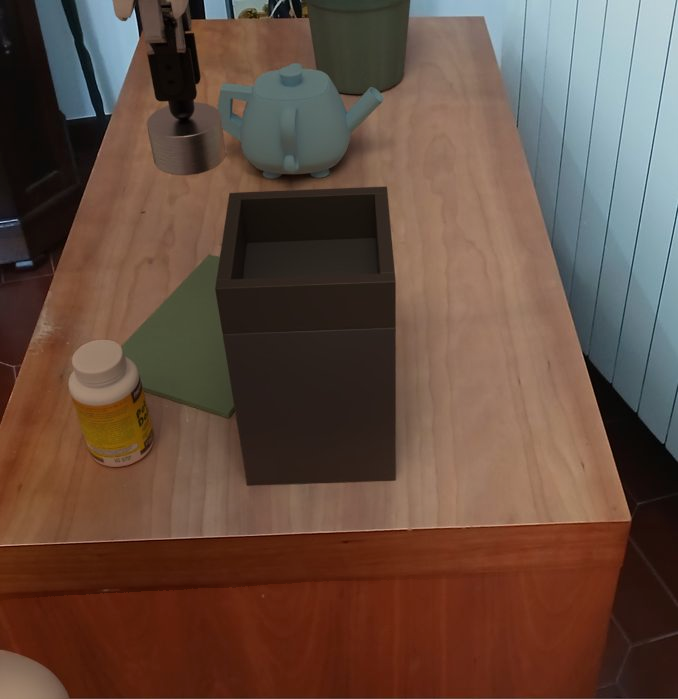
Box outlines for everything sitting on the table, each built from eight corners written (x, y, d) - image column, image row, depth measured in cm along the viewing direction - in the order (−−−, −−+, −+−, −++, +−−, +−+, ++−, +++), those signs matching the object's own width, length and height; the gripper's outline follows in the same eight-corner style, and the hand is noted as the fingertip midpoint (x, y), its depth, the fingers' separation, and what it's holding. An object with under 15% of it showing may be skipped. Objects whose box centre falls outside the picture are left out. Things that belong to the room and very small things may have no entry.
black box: (395, 480, 74) (395, 281, 61) (247, 485, 74) (214, 288, 61) (388, 378, 83) (387, 186, 70) (255, 383, 83) (229, 192, 70)
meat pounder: (202, 181, 74) (179, 42, 66) (140, 167, 76) (111, 31, 68) (239, 146, 78) (222, 11, 70) (179, 134, 80) (156, 2, 72)
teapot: (212, 198, 107) (198, 104, 99) (229, 130, 120) (218, 41, 112) (384, 195, 106) (384, 100, 98) (383, 126, 119) (383, 37, 111)
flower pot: (284, 67, 133) (274, -48, 123) (385, 43, 138) (384, -69, 128) (331, 113, 122) (325, -9, 111) (439, 86, 127) (443, -34, 116)
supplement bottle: (158, 463, 76) (134, 372, 70) (90, 476, 76) (60, 385, 69) (153, 416, 81) (131, 327, 74) (89, 428, 80) (60, 339, 73)
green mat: (228, 418, 80) (228, 413, 80) (97, 376, 85) (96, 371, 84) (328, 288, 93) (327, 283, 93) (209, 258, 98) (209, 254, 98)
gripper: (101, -193, 67) (146, 51, 79) (52, -135, 55) (114, 142, 67) (204, -198, 67) (233, 47, 79) (177, -141, 55) (217, 138, 67)
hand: (178, 89), depth 73 cm, fingers closed on meat pounder
